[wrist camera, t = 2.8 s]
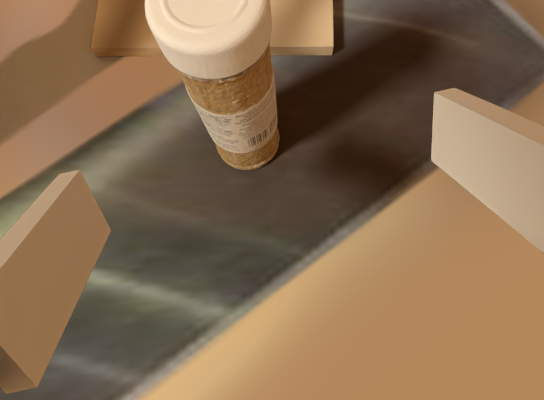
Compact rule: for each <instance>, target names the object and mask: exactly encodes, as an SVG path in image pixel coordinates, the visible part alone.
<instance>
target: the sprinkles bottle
mask: <svg viewBox="0 0 544 400" xmlns="http://www.w3.org/2000/svg"><path fill="white" fill-rule="evenodd" d="M145 14H146V19H147V22H148V25H149V27H150V29H151V31H152V33H153V35H154V37H155V39H156V41H157V43H158V45H159V47H160V49H161V50H162V52H163V54H164V56H165V57H166V59H167V60H168V61H169V62H170V63H171V64H172V65H173V66H174V67H175V68H176V69H177V71H178V72H179V75H180V77H181V78H182V80H183V82H184V84H185V87H186V90H187V92H188V94H189V96H190V98H191V100H192V102H193V104H194V106H195V107H196V109H197V111H198V113H199V115H200V117H201V119H202V121H203V123H204V125H205V126H206V128H207V130H208V132H209V134H210V136H211V138H212V139H213V141H214V142H215V144H216V146H217V150H218V153H219V155H220V156H221V157H222V159H223V160H224V161H225V162H226V163H227V164H228V165H230V166H232V167H234V168H235V169H241V170H252V169H257V168H260V167H262V166H263V165H265V164H267V163H268V162H269V161H270V160H271V159H272V158H273V157H274V155H275V153H276V152H277V149H278V145H279V140H280V137H279V131H278V128H277V106H276V91H275V79H274V69H273V67H272V63H271V54H270V37H271V32H272V15H271V5H270V0H145Z"/></svg>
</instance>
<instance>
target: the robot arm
mask: <svg viewBox="0 0 544 400" xmlns="http://www.w3.org/2000/svg"><path fill="white" fill-rule="evenodd" d="M431 161H432V162H433V163H435V164H436V165H437V166H438V167H439V168H441V169H442V170H443V171H444V172H446V173H447V174H448V175H449V176H450V177H452V178H453V179H454V180H455V181H457V182H458V183H459V184H460V185H461V186H462V187H464V188H465V189H466V190H467V191H469V192H470V193H471V194H472V195H473V196H475V197H476V198H477V199H478V200H479V201H481V202H482V203H483V204H484V205H486V206H487V207H488V208H489V209H490V210H491V211H493V212H494V213H495V214H496V215H497V216H499V217H500V218H501V219H502V220H503V221H505V222H506V223H507V224H508V225H510V226H511V227H512V228H513V229H514V230H516V231H517V232H518V233H519V234H520V235H522V236H523V237H524V238H525V239H526V240H528V241H529V242H530V243H532V245H534V246H535V247H536V248H537V249H539V250H540V251H541V252H542V253H543V254H544V126H543V125H541V124H538V123H536V122H534V121H531V120H529V119H527V118H524V117H522V116H520V115H517V114H515V113H513V112H510V111H508V110H506V109H503V108H501V107H499V106H496V105H494V104H492V103H489V102H487V101H484V100H482V99H480V98H477V97H475V96H473V95H470V94H468V93H466V92H463V91H461V90H459V89H456V88H452V89H447V90H443V91H438V92H434V108H433V130H432V151H431ZM110 232H111V230H110V228H109V226H108V224H107V222H106V220H105V218H104V216H103V214H102V212H101V210H100V208H99V206H98V204H97V202H96V201H95V199H94V197H93V195H92V193H91V191H90V189H89V187H88V185H87V183H86V181H85V179H84V177H83V175H82V173H81V171H80V170H76V171H72V172H67V173H63V174H59V175H58V176H57V177H56V178H55V179H54V180H53V182H52V183H51V184H50V185H49V186H48V187H47V188H46V189H45V190H44V192H43V193H42V194H41V195H40V196H39V197H38V198H37V199H36V200H35V202H34V203H33V204H32V205H31V206H30V207H29V208H28V209H27V211H26V212H25V213H24V214H23V215H22V216H21V217H20V218H19V219H18V221H17V222H16V223H15V224H14V225H13V226H12V227H11V228H10V230H9V231H8V232H7V233H6V234H5V235H4V236H3V237H2V238H1V240H0V388H1V389H2V390H3V391H4V392H5V393H6V394H8V393H13V392H17V391H22V390H26V389H31V388H35V387H38V385H39V382H40V380H41V378H42V376H43V374H44V372H45V370H46V368H47V365H48V363H49V361H50V359H51V357H52V355H53V353H54V351H55V348H56V346H57V344H58V342H59V340H60V338H61V336H62V334H63V331H64V329H65V327H66V325H67V323H68V321H69V319H70V317H71V314H72V312H73V310H74V308H75V306H76V304H77V302H78V300H79V297H80V295H81V293H82V291H83V289H84V287H85V285H86V283H87V280H88V278H89V276H90V274H91V272H92V270H93V268H94V266H95V263H96V261H97V259H98V257H99V255H100V253H101V251H102V249H103V246H104V244H105V242H106V240H107V238H108V236H109V234H110Z"/></svg>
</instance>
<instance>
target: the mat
mask: <svg viewBox="0 0 544 400" xmlns="http://www.w3.org/2000/svg"><path fill="white" fill-rule="evenodd" d="M270 5H271V15H272V32H271V37H270V54H271V55H332V52H333V0H270ZM90 48H91V50H92V51H93V52H94V53H95V54H96V56H164V54H163V52H162V50H161V49H160V47H159V45H158V43H157V41H156V39H155V37H154V35H153V33H152V31H151V29H150V27H149V25H148V22H147V19H146V14H145V0H98V5H97V11H96V17H95V23H94V29H93V35H92V41H91V47H90Z"/></svg>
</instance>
